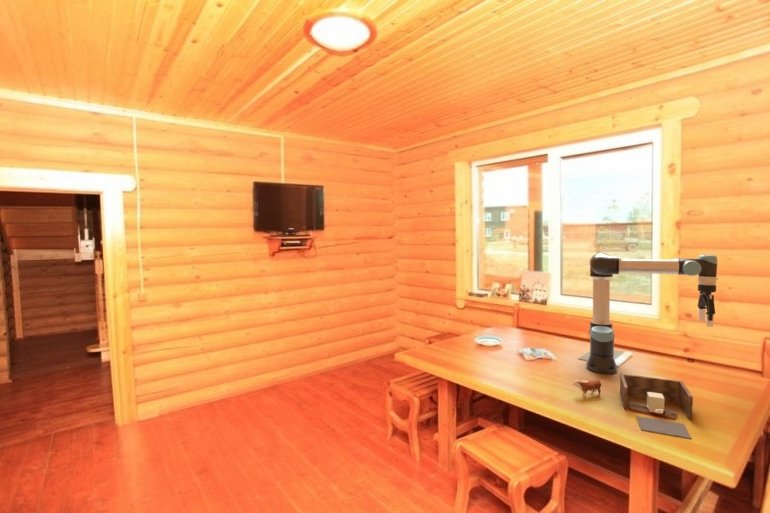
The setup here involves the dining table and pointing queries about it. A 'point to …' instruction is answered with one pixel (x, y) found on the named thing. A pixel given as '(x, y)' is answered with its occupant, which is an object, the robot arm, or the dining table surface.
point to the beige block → (655, 400)
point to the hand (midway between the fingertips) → (705, 323)
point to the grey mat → (663, 427)
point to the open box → (656, 390)
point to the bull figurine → (588, 386)
